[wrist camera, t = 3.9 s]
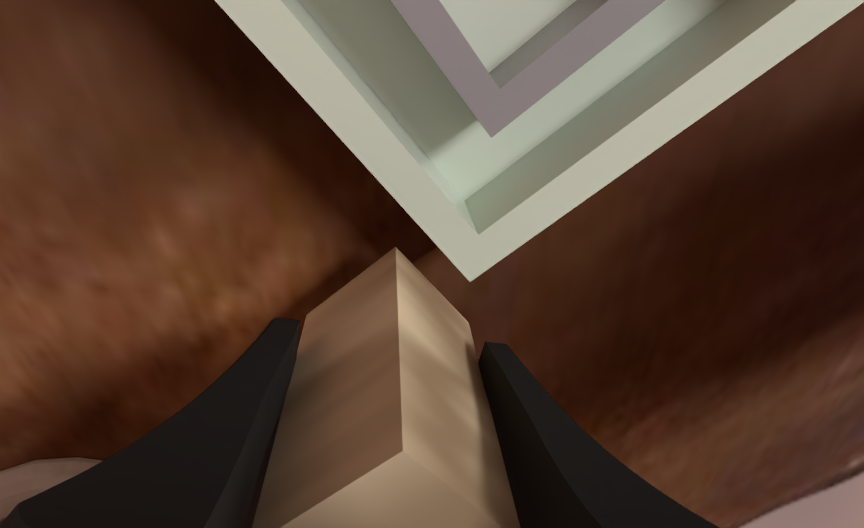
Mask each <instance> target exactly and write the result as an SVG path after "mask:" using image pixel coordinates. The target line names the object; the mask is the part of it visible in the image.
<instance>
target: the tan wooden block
mask: <svg viewBox="0 0 864 528" xmlns="http://www.w3.org/2000/svg"><path fill="white" fill-rule="evenodd" d="M478 363H479V362H478V358H477V354H476V350H475V346H474V342H473V338H472V334H471V330H470V327H469V323H468V321H467V320H466V319H465V318H464V317H463V316H462V315H461V314H460V313H459V312H458V311H457V310H456V309H455V308H454V307H453V306H452V305H451V304H450V303H449V302H448V301H447V300H446V299H445V297H444V296H443V295H442V294H441V293H440V292H439V291H438V290H437V289H436V288H435V287H434V286H433V285H432V284H431V283H430V282H429V281H428V280H427V279H426V278H425V277H424V276H423V275H422V274H421V273H420V271H419V270H418V269H417V268H416V267H415V266H414V265H413V264H412V263H411V262H410V261H409V260H408V259H407V258H406V257H405V256H404V255H403V254H402V253H401V252H400V251H399V250H398V249H397V248H396V247H394V248H393V249H392V250H391V251H389V252H388V253H387V254H385V255H384V256H383V257H381V258H380V259H379V260H378V261H376V262H375V263H374V264H372V265H371V266H370V267H368V268H367V269H366V270H364V271H363V272H362V273H361V274H359V275H358V276H357V277H355V278H354V279H353V280H351V281H350V282H349V283H347V284H346V285H345V286H344V287H342V288H341V289H340V290H338V291H337V292H336V293H334V294H333V295H332V296H330V297H329V298H328V299H327V300H325V301H324V302H323V303H321V304H320V305H319V306H317V307H316V308H315V309H313V310H312V311H311V312H310V313H308V314H307V315H306V319H305V323H304V327H303V331H302V334H301V338H300V342H299V346H298V350H297V358H296V362H295V366H294V370H293V374H292V378H291V381H290V385H289V388H288V390H287V393H286V397H285V401H284V405H283V409H282V413H281V416H280V420H279V424H278V428H277V432H276V436H275V440H274V444H273V448H272V452H271V456H270V459H269V463H268V467H267V471H266V475H265V479H264V483H263V487H262V491H261V495H260V498H259V502H258V506H257V510H256V514H255V518H254V522H253V526H252V528H520V524H519V520H518V516H517V512H516V508H515V504H514V500H513V496H512V492H511V488H510V485H509V481H508V477H507V473H506V469H505V465H504V461H503V457H502V453H501V449H500V445H499V441H498V437H497V433H496V429H495V425H494V421H493V417H492V413H491V409H490V406H489V402H488V398H487V395H486V392H485V389H484V385H483V381H482V377H481V373H480V369H479V365H478Z"/></svg>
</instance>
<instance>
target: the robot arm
mask: <svg viewBox="0 0 864 528" xmlns="http://www.w3.org/2000/svg"><path fill="white" fill-rule="evenodd" d="M299 326H300V320H291V319H283V318H275V319H273V320H272V321H271V322H270V323H269V324H268V326H267V327H266V328H265V330H264V331H263V332H262V333H261V335H260V336H259V337H258V338H257V339H256V340H255V342H254V343H253V344H252V345H251V346H250V347H249V348H248V349H247V350H246V351H245V352H244V353H243V355H242V356H241V357H240V358H239V359H238V360H237V361H236V362H235V363H234V364H233V365H232V366H231V367H230V368H229V369H228V370H227V371H226V372H225V373H224V374H222V375H221V376H220V377H219V378H218V379H217V380H216V381H215V382H214V383H213V384H211V385H210V386H209V387H208V388H207V389H206V390H205V391H204V392H202V393H201V394H200V395H199V396H198V397H197V398H195V399H194V400H193V401H192V402H190V403H189V404H188V405H187V406H185V407H184V408H183V409H181V410H180V411H179V412H177V413H176V414H175V415H173V416H172V417H171V418H169V419H168V420H166V421H165V422H164V423H162V424H161V425H159V426H158V427H156V428H155V429H154V430H152V431H151V432H149V433H148V434H146V435H145V436H143V437H142V438H140V439H139V440H137V441H135V442H134V443H132V444H131V445H129V446H127V447H126V448H124V449H122V450H121V451H119V452H117V453H115V454H114V455H112V456H110V457H109V458H107V459H105V460H103V461H102V462H100V463H98V464H97V465H95V466H93V467H91V468H89V469H87V470H86V471H84V472H82V473H80V474H78V475H76V476H74V477H72V478H70V479H68V480H66V481H64V482H62V483H60V484H57V485H55V486H53V487H51V488H49V489H47V490H45V491H43V492H41V493H39V494H37V495H35V496H33V497H31V498H28V499H26V500H24V501H22V502H20V503H18V504H17V505H16V507H15V508H14V509H13V510H12V511H11V512H10V514H9V515H8V516H7V517H6V518H5V519H4V520H3V521H2V522H1V523H0V528H252V526H253V522H254V518H255V514H256V510H257V506H258V502H259V498H260V495H261V491H262V487H263V483H264V479H265V475H266V471H267V467H268V463H269V459H270V456H271V452H272V448H273V444H274V440H275V436H276V432H277V428H278V424H279V420H280V416H281V413H282V409H283V405H284V401H285V397H286V393H287V390H288V388H289V385H290V381H291V378H292V374H293V370H294V366H295V362H296V358H297V348H298V337H299ZM478 365H479V369H480V373H481V377H482V381H483V385H484V389H485V392H486V395H487V398H488V402H489V406H490V409H491V413H492V417H493V421H494V425H495V429H496V433H497V437H498V441H499V445H500V449H501V453H502V457H503V461H504V465H505V469H506V473H507V477H508V481H509V485H510V488H511V492H512V496H513V500H514V504H515V508H516V512H517V516H518V520H519V524H520V528H719V527H717V526H716V525H714V524H712V523H710V522H709V521H707V520H705V519H703V518H702V517H700V516H698V515H697V514H695V513H693V512H691V511H690V510H688V509H687V508H685V507H683V506H682V505H680V504H679V503H677V502H676V501H674V500H673V499H671V498H670V497H668V496H667V495H665V494H664V493H662V492H661V491H659V490H658V489H656V488H655V487H653V486H652V485H651V484H649V483H648V482H646V481H645V480H643V479H642V478H641V477H639V476H638V475H637V474H635V473H634V472H633V471H632V470H630V469H629V468H628V467H626V466H625V465H624V464H622V463H621V462H620V461H619V460H617V459H616V458H615V457H614V456H612V455H611V454H610V453H609V452H608V451H606V450H605V449H604V448H603V447H602V446H601V445H600V444H598V443H597V442H596V441H595V440H594V439H593V438H592V437H591V436H589V435H588V434H587V433H586V432H585V431H584V430H583V429H582V428H581V427H580V426H579V425H578V424H577V423H576V422H575V421H574V420H573V419H572V418H571V417H570V416H569V415H568V414H567V413H566V412H565V411H564V410H563V409H562V408H561V407H560V406H559V405H558V404H557V403H556V402H555V400H554V399H553V398H552V397H551V396H550V395H549V394H548V393H547V392H546V390H545V389H544V388H543V387H542V386H541V385H540V384H539V382H538V381H537V380H536V379H535V378H534V377H533V375H532V374H531V373H530V372H529V371H528V369H527V368H526V367H525V366H524V365H523V363H522V362H521V361H520V360H519V359H518V357H517V356H516V355H515V354H514V353H513V351H512V350H511V349H510V348H509V347H508V346H507V345H506V344H500V343H491V342H485V344H484V347H483V350H482V353H481V356H480V359H479V363H478Z"/></svg>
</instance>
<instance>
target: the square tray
mask: <svg viewBox="0 0 864 528" xmlns="http://www.w3.org/2000/svg"><path fill="white" fill-rule="evenodd" d="M215 1H216V2H217V4H218V5H219V6H220V7H221V8H222V9H223V10H224V11H225V12H226V13H227V15H228V16H229V17H230V18H231V19H232V20H233V21H234V22H235V23H236V24H237V26H238V27H239V28H240V29H241V30H242V31H243V32H244V33H245V34H246V36H247V37H248V38H249V39H250V40H251V41H252V42H253V43H254V44H255V45H256V47H257V48H258V49H259V50H260V51H261V52H262V53H263V54H264V55H265V56H266V58H267V59H268V60H269V61H270V62H271V63H272V64H273V65H274V66H275V68H276V69H277V70H278V71H279V72H280V73H281V74H282V75H283V76H284V77H285V79H286V80H287V81H288V82H289V83H290V84H291V85H292V86H293V87H294V88H295V90H296V91H297V92H298V93H299V94H300V95H301V96H302V97H303V98H304V100H305V101H306V102H307V103H308V104H309V105H310V106H311V107H312V108H313V109H314V111H315V112H316V113H317V114H318V115H319V116H320V117H321V118H322V119H323V120H324V122H325V123H326V124H327V125H328V126H329V127H330V128H331V129H332V130H333V132H334V133H335V134H336V135H337V136H338V137H339V138H340V139H341V140H342V141H343V143H344V144H345V145H346V146H347V147H348V148H349V149H350V150H351V151H352V152H353V154H354V155H355V156H356V157H357V158H358V159H359V160H360V161H361V162H362V163H363V165H364V166H365V167H366V168H367V169H368V170H369V171H370V172H371V173H372V175H373V176H374V177H375V178H376V179H377V180H378V181H379V182H380V183H381V184H382V186H383V187H384V188H385V189H386V190H387V191H388V192H389V193H390V194H391V195H392V197H393V198H394V199H395V200H396V201H397V202H398V203H399V204H400V205H401V207H402V208H403V209H404V210H405V211H406V212H407V213H408V214H409V215H410V216H411V218H412V219H413V220H414V221H415V222H416V223H417V224H418V225H419V226H420V227H421V229H422V230H423V231H424V232H425V233H426V234H427V235H428V236H429V237H430V239H431V240H432V241H433V242H434V243H435V244H436V245H437V246H438V247H439V248H440V250H441V251H442V252H443V253H444V254H445V255H446V256H447V257H448V258H449V259H450V261H451V262H452V263H453V264H454V265H455V266H456V267H457V268H458V269H459V270H460V272H461V273H462V274H463V275H464V276H465V277H466V278H467V279H468V280H469V282H471V281H472V280H473V279H475V278H476V277H478V276H479V275H481V274H482V273H483V272H485V271H486V270H488V269H489V268H490V267H492V266H493V265H495V264H496V263H497V262H499V261H500V260H502V259H503V258H504V257H506V256H507V255H509V254H510V253H511V252H513V251H514V250H516V249H517V248H518V247H520V246H521V245H523V244H524V243H526V242H527V241H528V240H530V239H531V238H533V237H534V236H535V235H537V234H538V233H540V232H541V231H542V230H544V229H545V228H547V227H548V226H549V225H551V224H552V223H554V222H555V221H556V220H558V219H559V218H561V217H562V216H563V215H565V214H566V213H568V212H569V211H571V210H572V209H573V208H575V207H576V206H578V205H579V204H580V203H582V202H583V201H585V200H586V199H587V198H589V197H590V196H592V195H593V194H594V193H596V192H597V191H599V190H600V189H601V188H603V187H604V186H606V185H607V184H608V183H610V182H611V181H613V180H614V179H616V178H617V177H618V176H620V175H621V174H623V173H624V172H625V171H627V170H628V169H630V168H631V167H632V166H634V165H635V164H637V163H638V162H639V161H641V160H642V159H644V158H645V157H646V156H648V155H649V154H651V153H652V152H653V151H655V150H656V149H658V148H659V147H660V146H662V145H663V144H665V143H666V142H668V141H669V140H670V139H672V138H673V137H675V136H676V135H677V134H679V133H680V132H682V131H683V130H684V129H686V128H687V127H689V126H690V125H691V124H693V123H694V122H696V121H697V120H698V119H700V118H701V117H703V116H704V115H705V114H707V113H708V112H710V111H711V110H713V109H714V108H715V107H717V106H718V105H720V104H721V103H722V102H724V101H725V100H727V99H728V98H729V97H731V96H732V95H734V94H735V93H736V92H738V91H739V90H741V89H742V88H743V87H745V86H746V85H748V84H749V83H750V82H752V81H753V80H755V79H756V78H758V77H759V76H760V75H762V74H763V73H765V72H766V71H767V70H769V69H770V68H772V67H773V66H774V65H776V64H777V63H779V62H780V61H781V60H783V59H784V58H786V57H787V56H788V55H790V54H791V53H793V52H794V51H795V50H797V49H798V48H800V47H801V46H803V45H804V44H805V43H807V42H808V41H810V40H811V39H812V38H814V37H815V36H817V35H818V34H819V33H821V32H822V31H824V30H825V29H826V28H828V27H829V26H831V25H832V24H833V23H835V22H836V21H838V20H839V19H840V18H842V17H843V16H845V15H846V14H848V13H849V12H850V11H852V10H853V9H855V8H856V7H857V6H859V5H860V4H862V3H863V2H864V0H215Z"/></svg>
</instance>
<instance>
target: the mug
mask: <svg viewBox="0 0 864 528" xmlns="http://www.w3.org/2000/svg"><path fill="white" fill-rule="evenodd" d="M102 461H103V460H96V459H88V458H80V457H72V458H57V459H42V460H34V461H31V462H28V463H24V464H21V465H18V466H15V467H12V468H8V469H5V470H2V471H0V523H1V522H2V521H3V520H4V519H5V518H6V517H7V516H8V515H9V514H10V512H11V511H12V510H13V509H14V508H15V507H16V505H17V504H18V503H20V502H22V501H24V500H26V499H28V498H31V497H33V496H35V495H37V494H39V493H41V492H43V491H45V490H47V489H49V488H51V487H53V486H55V485H57V484H60V483H62V482H64V481H66V480H68V479H70V478H72V477H74V476H76V475H78V474H80V473H82V472H84V471H86V470H87V469H89V468H91V467H93V466H95V465H97V464H98V463H100V462H102Z"/></svg>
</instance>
